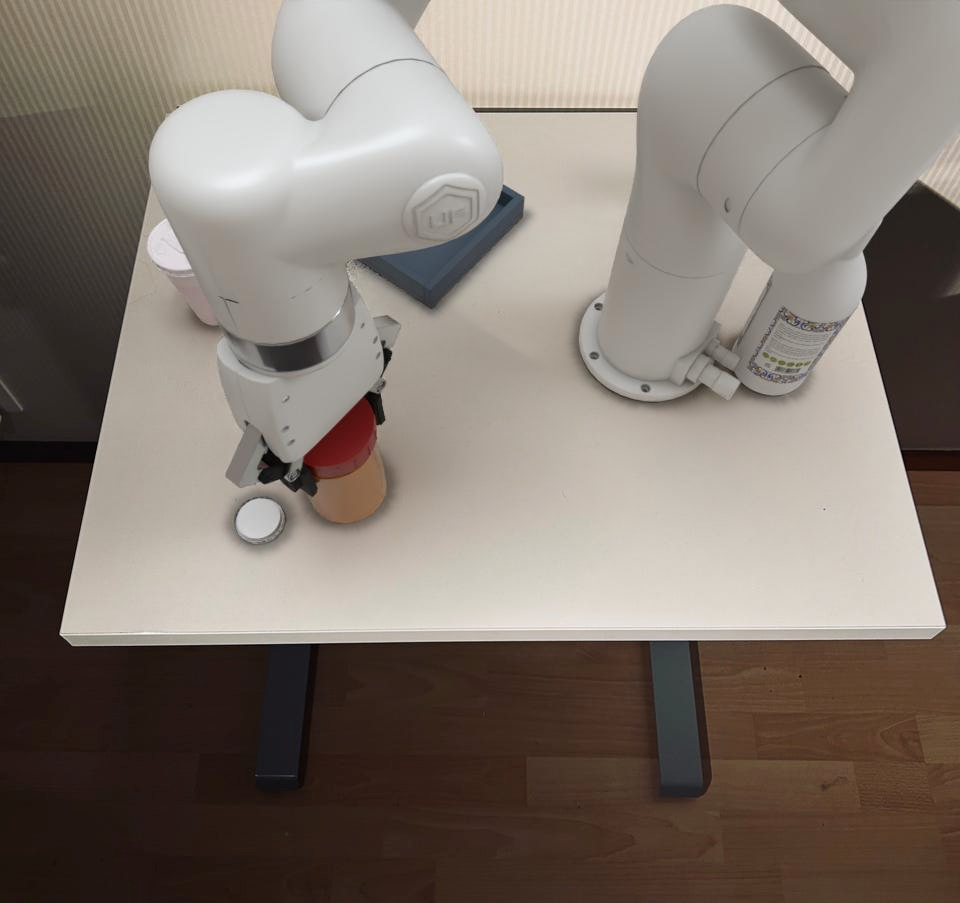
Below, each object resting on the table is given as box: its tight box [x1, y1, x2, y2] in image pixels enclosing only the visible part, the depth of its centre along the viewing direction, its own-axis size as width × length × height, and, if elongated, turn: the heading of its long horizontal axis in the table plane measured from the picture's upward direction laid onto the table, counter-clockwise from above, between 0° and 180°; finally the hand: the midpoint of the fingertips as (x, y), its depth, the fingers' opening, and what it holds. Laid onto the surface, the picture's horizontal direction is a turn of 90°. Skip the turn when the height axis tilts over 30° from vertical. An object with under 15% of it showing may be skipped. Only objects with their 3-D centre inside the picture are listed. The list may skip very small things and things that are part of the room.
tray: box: [356, 183, 525, 309], centre depth 80 cm, size 20×15×3 cm
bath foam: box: [731, 217, 884, 396], centre depth 64 cm, size 7×7×20 cm
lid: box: [303, 396, 379, 478], centre depth 58 cm, size 7×7×2 cm
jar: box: [306, 439, 388, 525], centre depth 63 cm, size 7×7×11 cm
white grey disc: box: [233, 495, 285, 545], centre depth 66 cm, size 4×4×1 cm
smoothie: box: [146, 217, 219, 327], centre depth 69 cm, size 6×6×14 cm
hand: (334, 447), depth 61 cm, fingers closed on lid, 6 cm apart
